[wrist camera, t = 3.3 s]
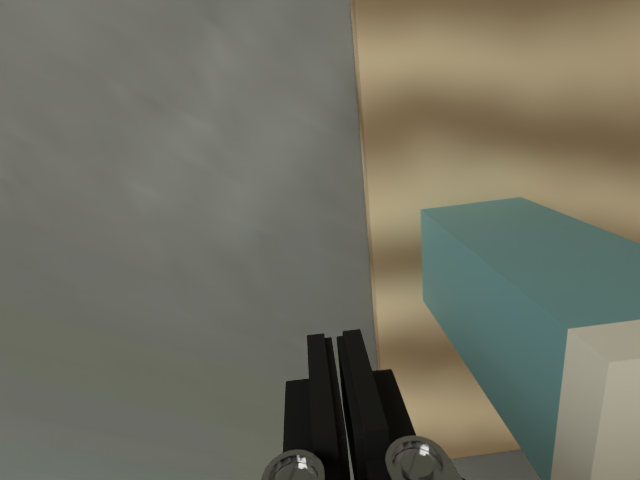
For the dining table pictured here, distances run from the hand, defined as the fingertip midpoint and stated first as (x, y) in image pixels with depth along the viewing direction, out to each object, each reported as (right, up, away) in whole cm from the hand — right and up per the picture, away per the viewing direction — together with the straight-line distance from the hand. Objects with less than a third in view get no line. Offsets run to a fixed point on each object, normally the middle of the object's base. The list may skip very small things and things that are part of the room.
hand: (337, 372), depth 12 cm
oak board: (+14, +4, +9) cm, 17 cm away
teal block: (+7, +4, +8) cm, 11 cm away
